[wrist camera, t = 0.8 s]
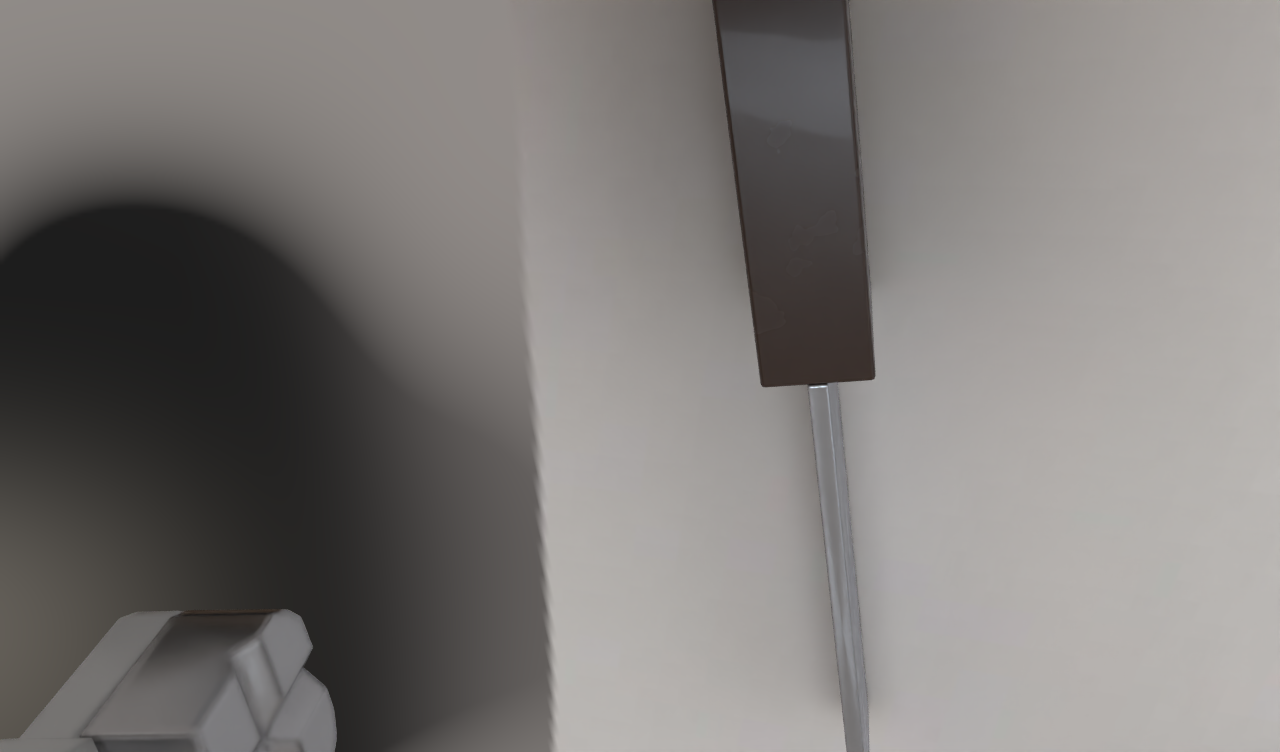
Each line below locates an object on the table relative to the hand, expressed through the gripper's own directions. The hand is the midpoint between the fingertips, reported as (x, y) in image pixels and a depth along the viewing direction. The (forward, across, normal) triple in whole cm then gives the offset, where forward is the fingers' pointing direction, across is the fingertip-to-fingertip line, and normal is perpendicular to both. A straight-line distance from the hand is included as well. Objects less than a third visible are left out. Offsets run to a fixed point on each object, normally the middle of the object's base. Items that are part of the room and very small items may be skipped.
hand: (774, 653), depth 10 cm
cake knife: (+17, 0, +6) cm, 18 cm away
